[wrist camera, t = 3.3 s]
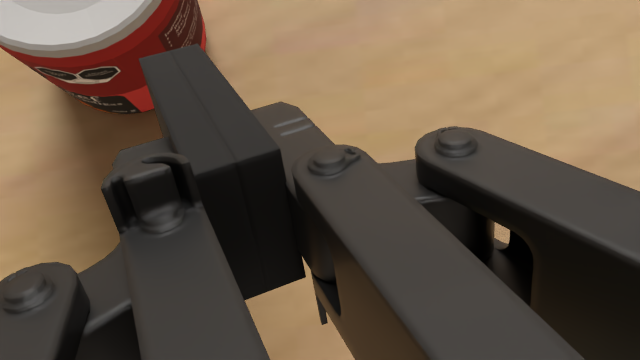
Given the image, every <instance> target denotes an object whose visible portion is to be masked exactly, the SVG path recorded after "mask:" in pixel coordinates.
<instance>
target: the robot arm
mask: <svg viewBox="0 0 640 360" xmlns="http://www.w3.org/2000/svg"><path fill="white" fill-rule="evenodd" d="M139 62H140V65H141V68H142V71H143V74H144V77H145V81H146V84H147V87H148V90H149V93H150V96H151V99H152V103H153V106H154V109H155V112H156V115H157V118H158V122H159V125H160V128H161V131H162V134H163V137H164V138H161V139H158V140H154V141H151V142H147V143H144V144H141V145H137V146H134V147H130V148H127V149H123V150H120V152H119V154H118V155H117V157H116V159H115V160H114V162H113V164H112V166H113V170H112V171H111V172H110V173H109V174H108V175H107V176H106V177H105V179H104V180H103V183H102V187H101V190H102V193H103V195H104V197H105V200H106V202H107V205H108V207H109V210H110V212H111V215H112V217H113V220H114V222H115V225H116V227H117V230H118V232H119V236H120V243H119V244H118V245H117V247H116V248H115V249H114V250H113V251H112V252H111V253H110V254H109V255H107V256H106V257H105V258H104V259H102V260H101V261H99V262H98V263H96V264H95V265H93V266H91V267H89V268H88V269H86V270H84V271H82V272H80V273H79V274H77V273H76V272H75V271H74V269H73V268H72V267H71V266H70V265H67V264H63V263H59V262H52V263H40V264H37V265H34V266H31V267H26V268H23V269H21V270H19V271H16V273H12V274H11V275H9V276H7V277H6V278H4V279H3V280H2V281H1V282H0V360H270V358H269V356H268V354H267V351H266V349H265V347H264V345H263V342H262V340H261V338H260V335H259V333H258V331H257V328H256V326H255V324H254V322H253V319H252V317H251V315H250V312H249V310H248V308H247V306H246V303H245V301H244V300H246V299H249V298H252V297H254V296H257V295H260V294H262V293H265V292H268V291H270V290H273V289H276V288H278V287H281V286H284V285H286V284H289V283H291V282H294V281H297V280H299V279H302V278H305V277H306V275H305V270H304V265H303V260H302V257H303V258H304V260H305V261H306V263H307V265H308V266H309V268H310V269H311V274H312V279H313V284H314V290H315V295H316V300H317V305H318V310H319V316H320V320H321V323H322V325H323V324H326V323H328V322H327V317H326V312H327V313H328V315H329V317H330V318H331V320H332V322H333V323H334V325H335V327H336V328H337V330H338V332H339V333H340V335H341V337H342V338H343V340H344V342H345V343H346V345H347V347H348V348H349V350H350V352H351V353H352V355H353V357H354V358H355V360H640V192H639V191H637V190H634V189H632V188H629V187H626V186H624V185H621V184H619V183H616V182H613V181H611V180H608V179H606V178H603V177H600V176H598V175H595V174H593V173H590V172H587V171H585V170H582V169H580V168H577V167H574V166H572V165H569V164H567V163H564V162H561V161H559V160H556V159H554V158H551V157H548V156H546V155H543V154H541V153H538V152H535V151H533V150H530V149H528V148H525V147H522V146H520V145H517V144H515V143H512V142H509V141H507V140H504V139H502V138H499V137H496V136H494V135H491V134H489V133H486V132H483V131H480V130H476V129H472V128H462V127H455V126H454V127H448V128H446V127H445V128H441V129H438V130H436V131H433V132H430V133H427V134H426V135H424V136H423V137H422V138H420V139H419V140H418V142H417V144H416V146H415V157H416V159H414V160H407V161H399V162H392V163H376V162H375V161H374V160H373V159H372V158H371V157H370V156H369V155H368V154H367V153H366V152H364V151H362V150H361V149H359V148H357V147H353V146H348V145H335V144H334V143H333V142H332V141H331V140H330V139H329V138H328V137H327V136H326V135H325V134H324V133H323V132H322V131H321V130H320V129H319V128H318V127H317V126H315V124H314V123H313V122H312V121H311V120H310V119H309V118H307V116H306V115H305V114H304V113H303V112H302V111H301V110H300V109H299V108H298V107H296V106H293V105H290V104H287V103H284V102H278V103H274V104H271V105H268V106H264V107H261V108H257V109H254V110H250V109H249V108H248V107H247V106H246V104H245V103H244V102H243V100H242V99H241V98H240V97H239V95H238V94H237V93H236V92H235V90H234V89H233V88H232V86H231V85H230V84H229V83H228V81H227V80H226V79H225V77H224V76H223V75H222V74H221V72H220V71H219V70H218V69H217V67H216V66H215V65H214V63H213V62H212V61H211V60H210V58H209V57H208V56H207V55H206V53H205V52H204V51H203V49H202V48H201V47H200V46H199V44H198V43H197V44H194V45H190V46H186V47H182V48H178V49H174V50H170V51H166V52H162V53H158V54H154V55H150V56H146V57H143V58H139ZM495 222H496V223H498V224H500V225H502V226H504V227H506V228H507V229H509V230H510V241H509V244H506V243H503V242H501V241H499V240H497V239H495V238H494V223H495Z"/></svg>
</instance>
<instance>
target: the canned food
mask: <svg viewBox="0 0 640 360" xmlns="http://www.w3.org/2000/svg"><path fill="white" fill-rule="evenodd" d="M197 43H198V44H199V46H200V47H201V48H202V49H203V51H204V52H205V44H206V33H205V24H204V21H203V18H202V14H201V11H200V8H199V4H198V1H197V0H0V47H1V48H2V49H3V50H5V51H6V52H7V53H9V54H10V55H12V56H13V57H15V58H16V59H18V60H19V61H21V62H22V63H24V64H25V65H27V66H28V67H30V68H31V69H33V70H34V71H36V72H37V73H39V74H40V75H41V76H43V77H44V78H46V79H47V80H49V81H50V82H52V83H53V84H55V85H56V86H58V87H59V88H61V89H62V90H64V91H65V92H67V93H68V94H70V95H71V96H72V97H74V98H75V99H77V100H78V101H80V102H81V103H83V104H85V105H87V106H90V107H92V108H94V109H96V110H100V111H104V112H108V113H116V114H132V113H140V112H145V111H148V110H151V109H154V106H153V103H152V99H151V96H150V93H149V90H148V87H147V84H146V81H145V77H144V74H143V71H142V68H141V65H140V62H139V58H143V57H146V56H150V55H154V54H158V53H162V52H166V51H170V50H174V49H178V48H182V47H186V46H190V45H194V44H197Z"/></svg>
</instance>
